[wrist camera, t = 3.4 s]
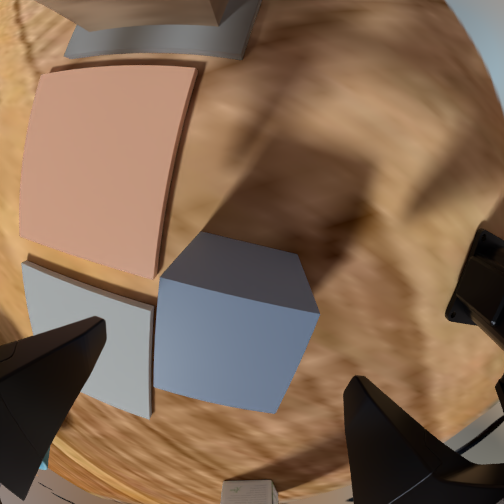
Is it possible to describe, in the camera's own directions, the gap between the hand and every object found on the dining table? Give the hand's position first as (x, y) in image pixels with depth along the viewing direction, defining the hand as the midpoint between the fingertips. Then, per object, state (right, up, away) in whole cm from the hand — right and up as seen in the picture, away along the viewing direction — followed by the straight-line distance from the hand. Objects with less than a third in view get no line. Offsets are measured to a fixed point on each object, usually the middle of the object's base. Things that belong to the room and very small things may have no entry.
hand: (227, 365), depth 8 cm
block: (0, +2, +6) cm, 6 cm away
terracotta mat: (-8, +9, +4) cm, 13 cm away
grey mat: (-11, -3, +8) cm, 14 cm away
